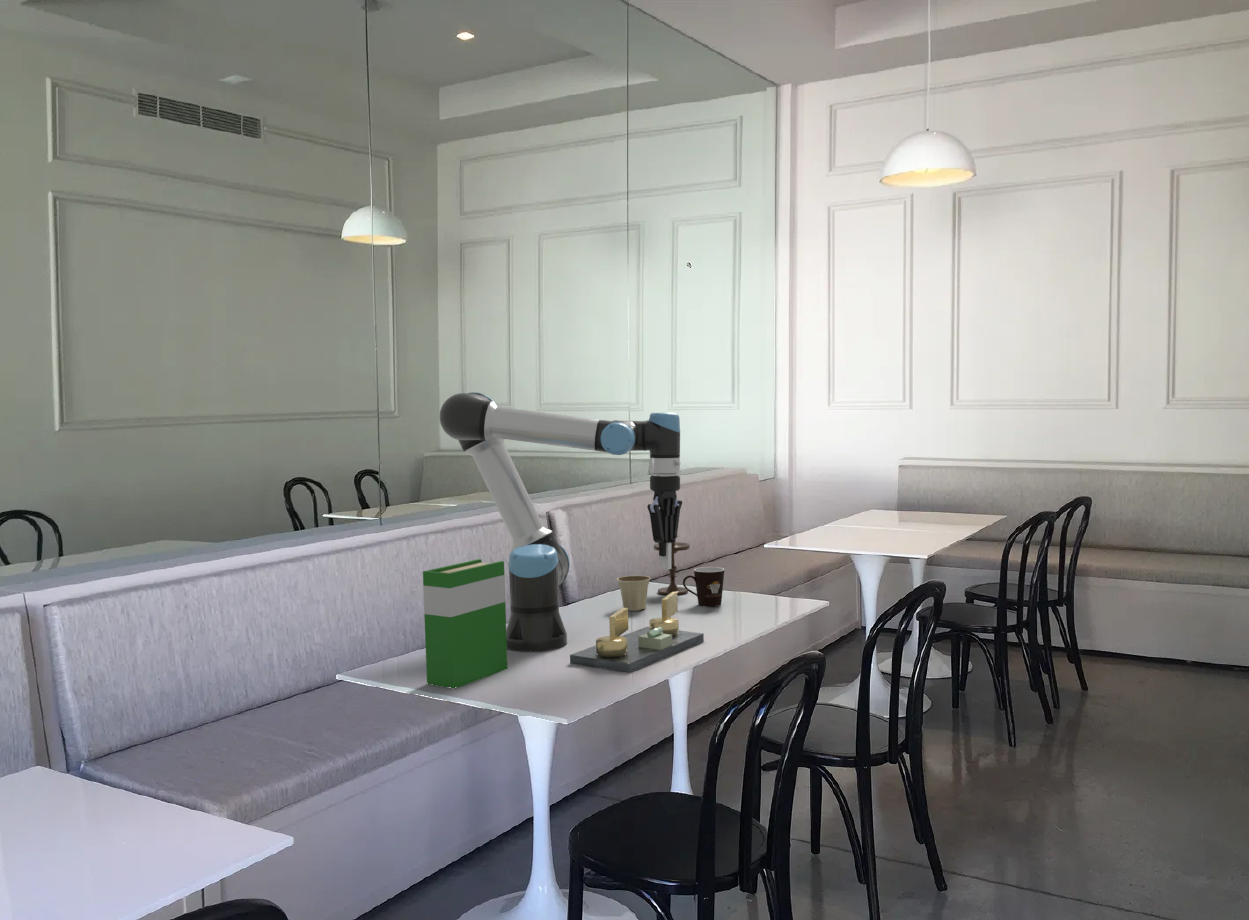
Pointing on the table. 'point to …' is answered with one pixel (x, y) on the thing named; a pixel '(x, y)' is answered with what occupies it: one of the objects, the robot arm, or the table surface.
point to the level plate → (640, 650)
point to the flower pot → (634, 591)
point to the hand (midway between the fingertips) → (665, 568)
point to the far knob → (667, 616)
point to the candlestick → (673, 570)
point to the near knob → (614, 636)
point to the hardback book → (464, 622)
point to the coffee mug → (708, 585)
